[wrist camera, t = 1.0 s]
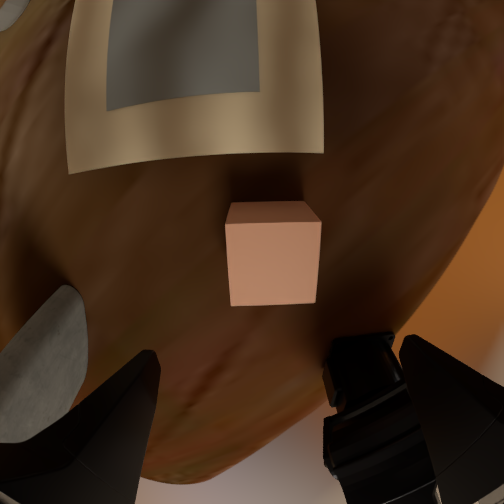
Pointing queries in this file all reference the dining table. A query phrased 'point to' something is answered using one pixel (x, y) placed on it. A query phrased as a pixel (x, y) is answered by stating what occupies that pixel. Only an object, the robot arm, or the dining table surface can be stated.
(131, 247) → the dining table surface
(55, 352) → the hip flask
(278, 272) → the terracotta cube
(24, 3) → the coffee cup
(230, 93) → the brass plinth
